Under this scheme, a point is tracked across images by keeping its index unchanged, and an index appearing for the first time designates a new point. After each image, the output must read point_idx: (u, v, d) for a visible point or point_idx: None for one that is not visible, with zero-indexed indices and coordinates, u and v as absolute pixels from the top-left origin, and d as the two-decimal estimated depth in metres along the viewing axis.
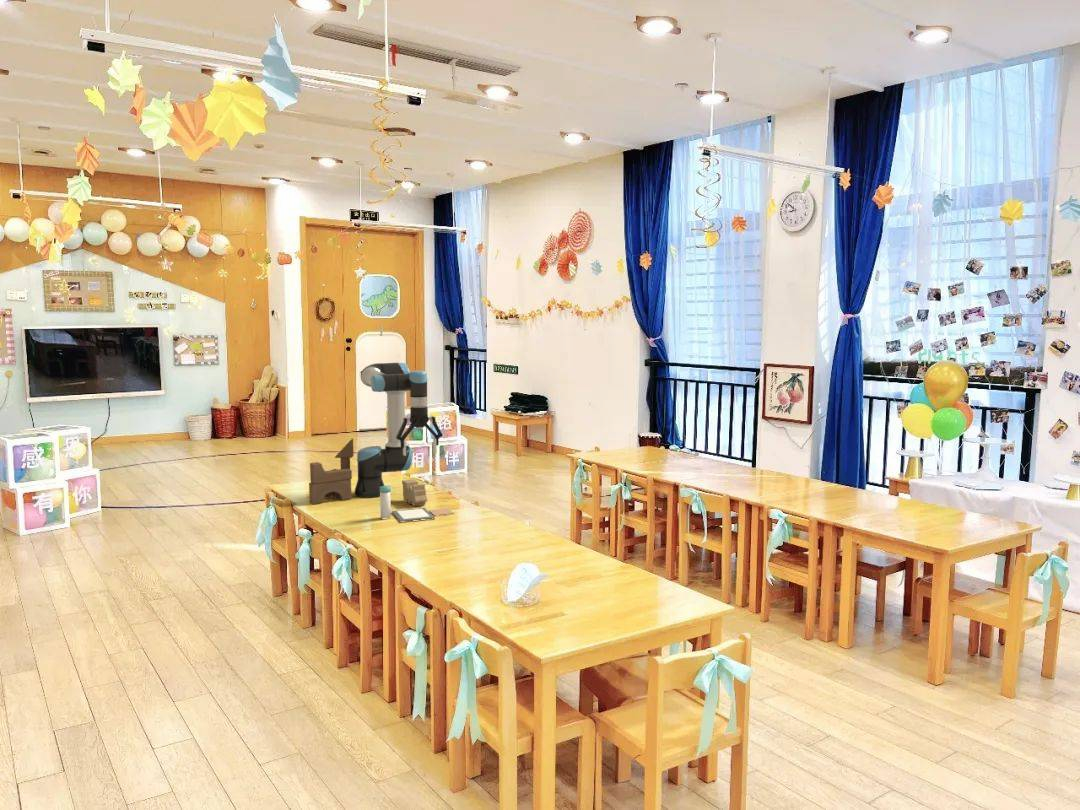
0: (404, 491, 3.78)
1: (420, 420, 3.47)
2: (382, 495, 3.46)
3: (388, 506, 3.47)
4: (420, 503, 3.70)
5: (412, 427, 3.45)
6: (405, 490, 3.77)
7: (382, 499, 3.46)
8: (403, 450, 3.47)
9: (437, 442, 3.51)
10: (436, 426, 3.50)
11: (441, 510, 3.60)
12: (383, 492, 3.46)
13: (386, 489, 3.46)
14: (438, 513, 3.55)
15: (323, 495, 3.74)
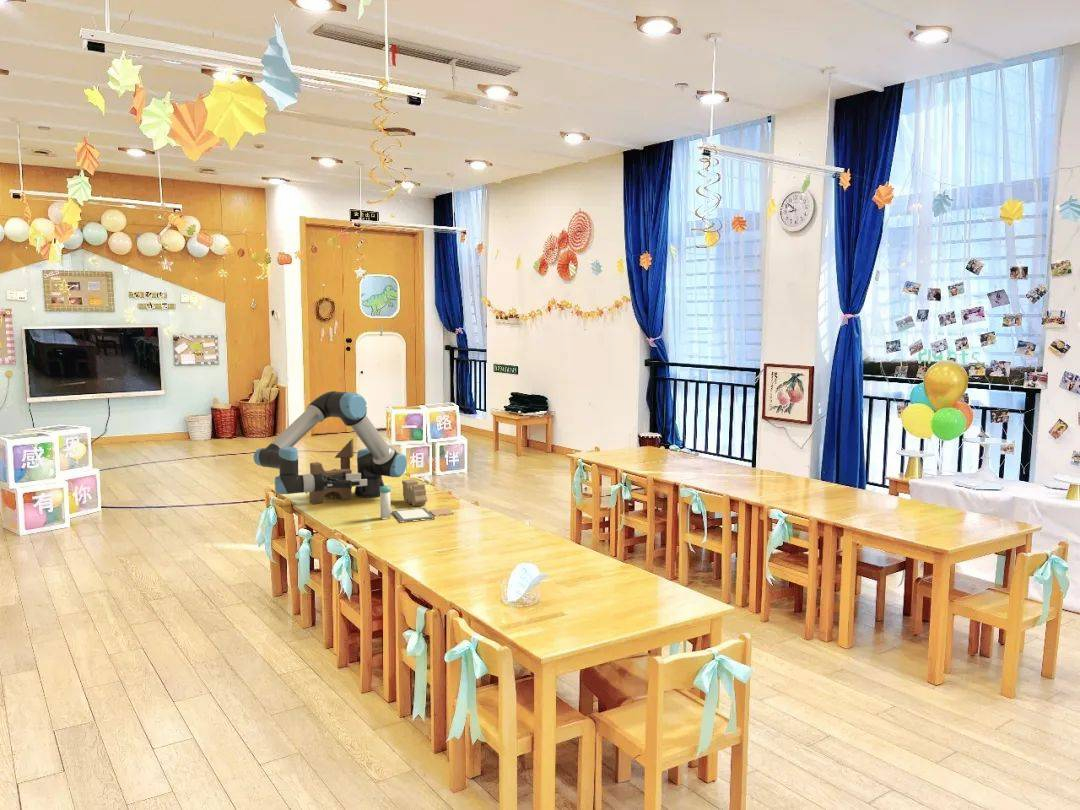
0: (404, 491, 3.78)
1: None
2: (382, 495, 3.46)
3: (388, 506, 3.47)
4: (420, 503, 3.70)
5: None
6: (405, 490, 3.77)
7: (382, 499, 3.46)
8: None
9: None
10: None
11: (441, 510, 3.60)
12: (383, 492, 3.46)
13: (386, 489, 3.46)
14: (438, 513, 3.55)
15: (323, 495, 3.74)
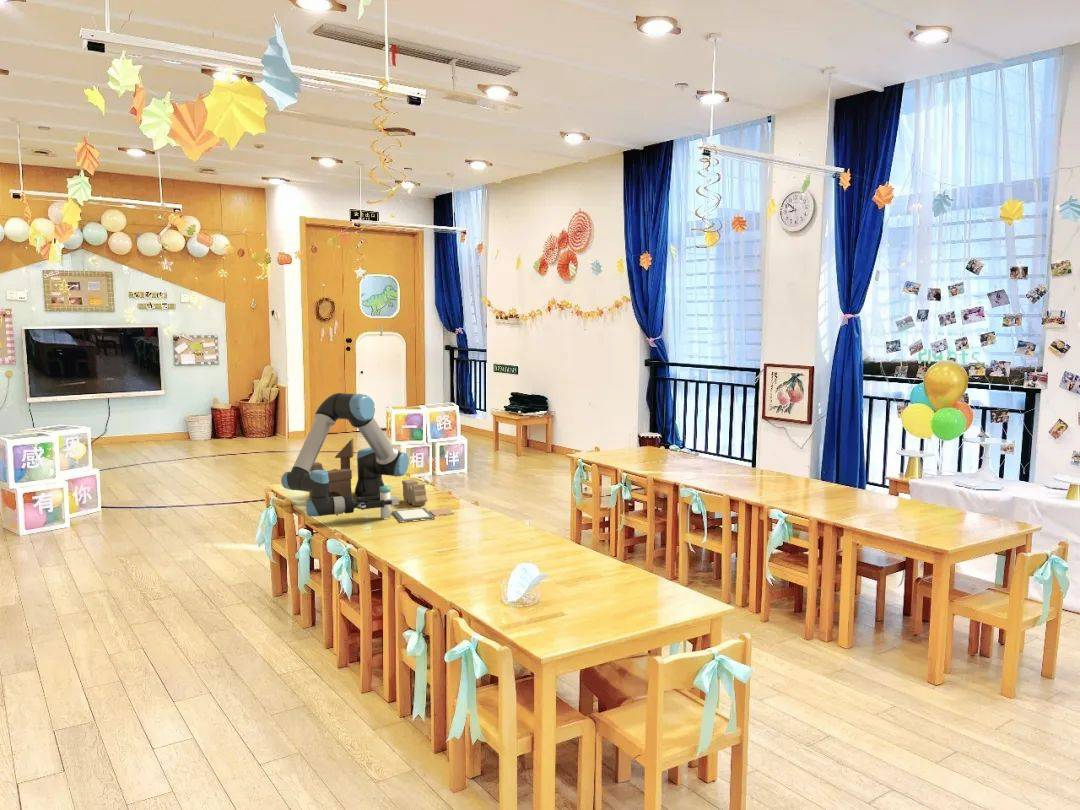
0: (404, 491, 3.78)
1: None
2: (382, 495, 3.46)
3: (388, 506, 3.47)
4: (420, 503, 3.70)
5: None
6: (405, 490, 3.77)
7: (382, 499, 3.46)
8: (391, 497, 3.52)
9: None
10: None
11: (441, 510, 3.60)
12: (383, 492, 3.46)
13: (386, 489, 3.46)
14: (438, 513, 3.55)
15: None
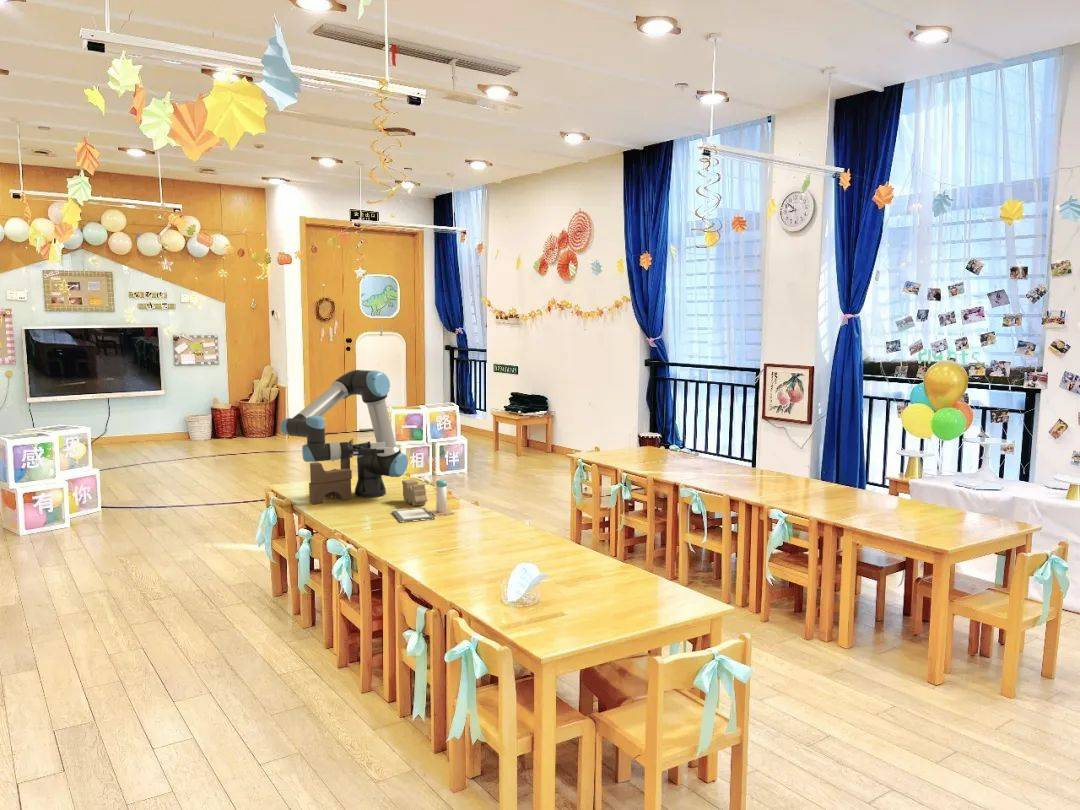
0: (404, 491, 3.78)
1: None
2: (439, 489, 3.55)
3: (444, 500, 3.56)
4: (420, 503, 3.70)
5: None
6: (405, 490, 3.77)
7: (439, 493, 3.55)
8: None
9: None
10: None
11: None
12: (440, 486, 3.54)
13: (443, 483, 3.54)
14: (438, 513, 3.55)
15: (323, 495, 3.74)
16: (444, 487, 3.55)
